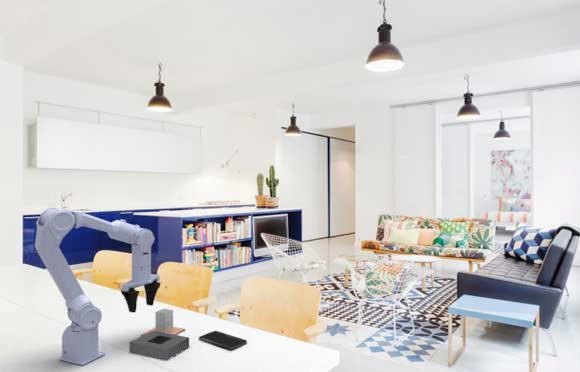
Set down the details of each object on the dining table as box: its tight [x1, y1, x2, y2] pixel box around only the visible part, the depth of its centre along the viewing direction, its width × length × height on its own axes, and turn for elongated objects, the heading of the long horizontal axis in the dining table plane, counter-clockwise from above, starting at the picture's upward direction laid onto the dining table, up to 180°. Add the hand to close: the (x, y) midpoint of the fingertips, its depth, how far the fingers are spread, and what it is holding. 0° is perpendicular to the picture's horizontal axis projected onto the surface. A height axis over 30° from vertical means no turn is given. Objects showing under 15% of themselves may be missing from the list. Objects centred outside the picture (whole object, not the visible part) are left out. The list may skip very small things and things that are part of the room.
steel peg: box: [154, 308, 174, 333], centre depth 133 cm, size 4×4×7 cm
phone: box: [198, 330, 248, 352], centre depth 127 cm, size 8×1×15 cm
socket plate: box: [129, 331, 190, 361], centre depth 120 cm, size 14×10×3 cm
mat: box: [140, 326, 186, 337], centre depth 134 cm, size 10×10×1 cm
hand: (141, 308), depth 127 cm, fingers open, 7 cm apart
